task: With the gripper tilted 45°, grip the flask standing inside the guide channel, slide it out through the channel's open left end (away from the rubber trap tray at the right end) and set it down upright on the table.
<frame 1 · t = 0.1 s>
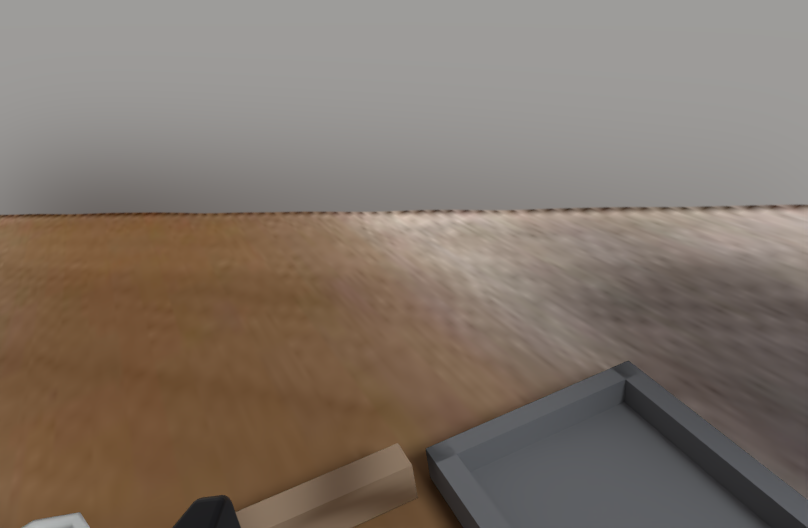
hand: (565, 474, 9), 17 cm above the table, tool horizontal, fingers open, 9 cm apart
trap tray: (617, 521, 28), on the table
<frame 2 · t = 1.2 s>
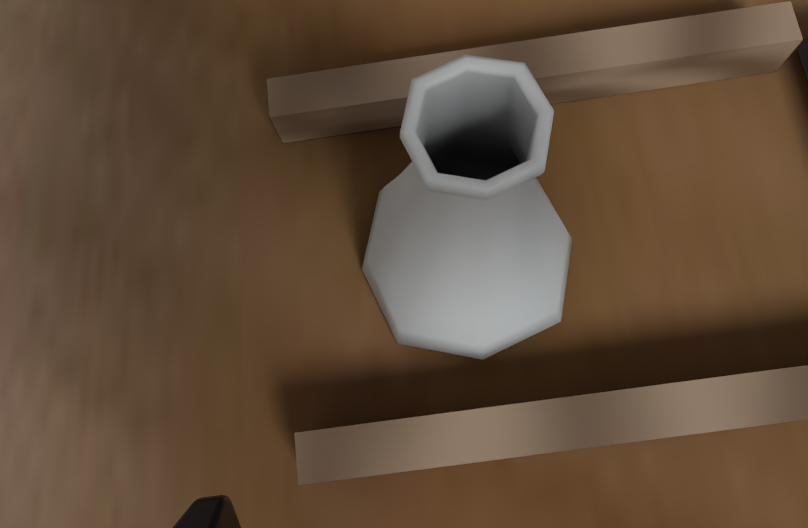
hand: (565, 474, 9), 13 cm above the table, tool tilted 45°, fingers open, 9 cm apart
guide channel: (466, 256, 24), on the table
flask: (466, 258, 24), on the table
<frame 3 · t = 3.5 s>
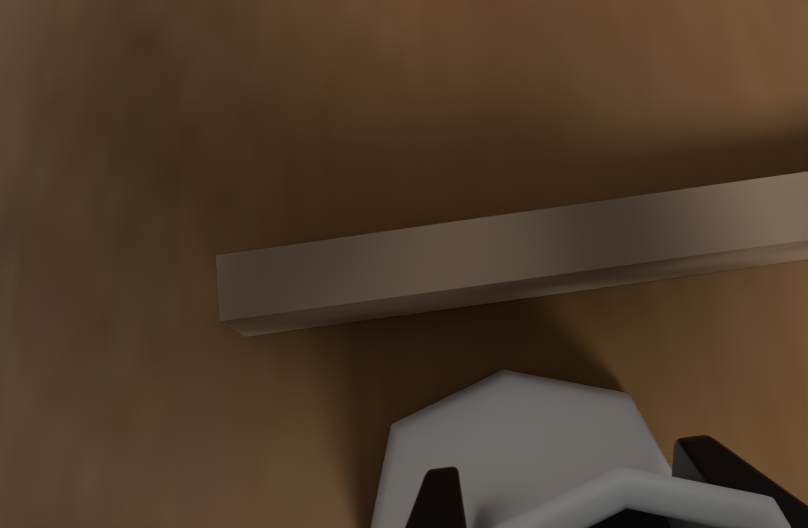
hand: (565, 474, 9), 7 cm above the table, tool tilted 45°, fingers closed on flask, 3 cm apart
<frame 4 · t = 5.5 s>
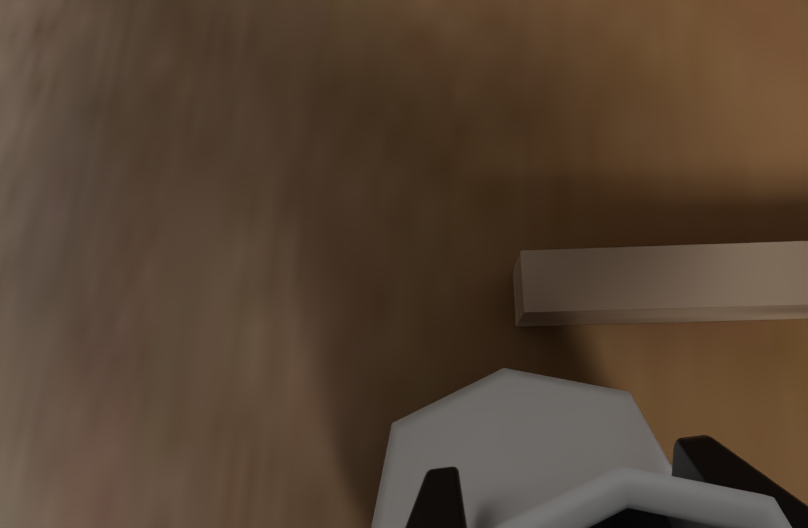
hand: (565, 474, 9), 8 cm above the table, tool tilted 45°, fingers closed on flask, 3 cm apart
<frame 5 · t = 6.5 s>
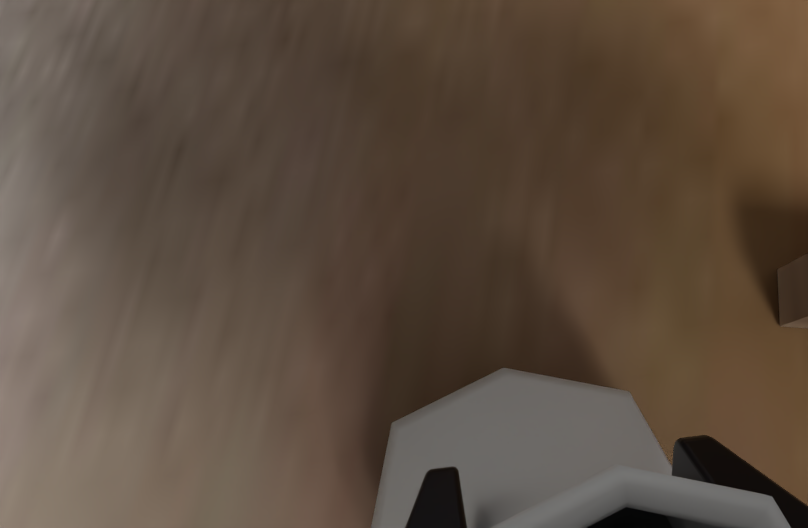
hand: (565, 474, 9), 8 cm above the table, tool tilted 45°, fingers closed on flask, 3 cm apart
when the fingers open (7 cm above the table, at t = 7.5 s): flask stays where it is, on the table.
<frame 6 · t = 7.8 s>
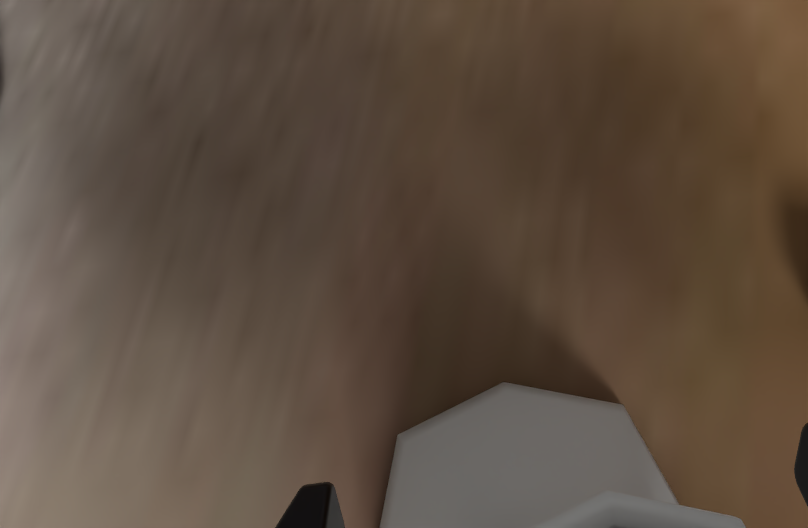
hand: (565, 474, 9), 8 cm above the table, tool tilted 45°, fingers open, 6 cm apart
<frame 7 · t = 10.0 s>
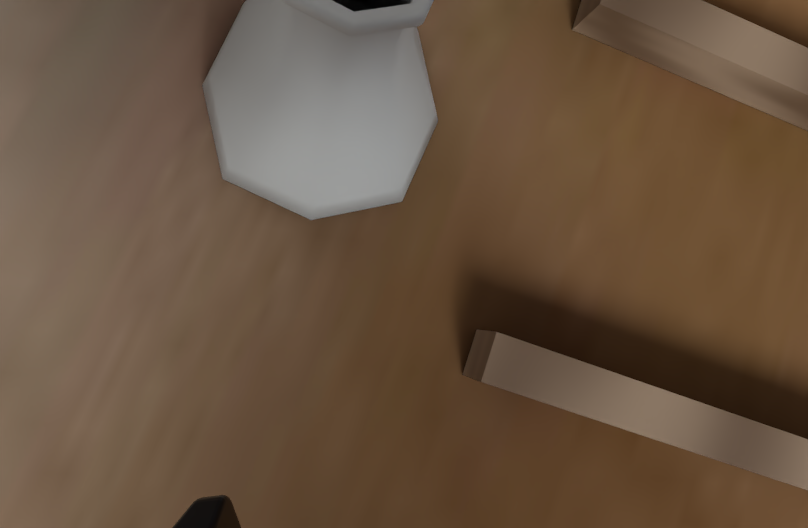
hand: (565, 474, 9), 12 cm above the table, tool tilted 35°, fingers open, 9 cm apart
guide channel: (685, 237, 23), on the table
flask: (322, 107, 21), on the table
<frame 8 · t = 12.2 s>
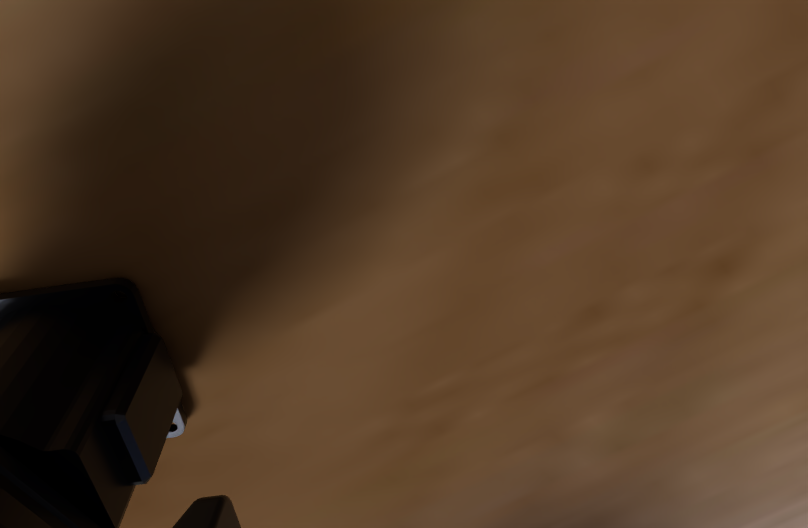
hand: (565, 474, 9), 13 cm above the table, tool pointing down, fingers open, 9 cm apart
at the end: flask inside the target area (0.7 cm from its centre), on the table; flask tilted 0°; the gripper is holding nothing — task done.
